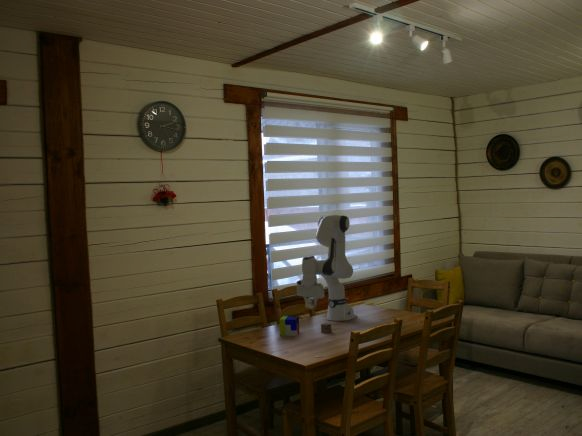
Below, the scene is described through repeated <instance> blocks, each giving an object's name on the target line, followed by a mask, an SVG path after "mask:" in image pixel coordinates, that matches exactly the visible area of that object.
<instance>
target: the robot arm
mask: <svg viewBox="0 0 582 436" xmlns="http://www.w3.org/2000/svg"><path fill="white" fill-rule="evenodd" d="M349 228H350V219H349V217H348V216H347V215H344V214H343V215H338V214H333V215H329V214H328V215H321V216H320V217H319V218H318V220H317V230H316V234H315V239H316V241H317V242H318V244H320V245H322V246H324V247H326V248H328V249H327V251H328V252H327V258H324V259H321V258H320V259H318V258H316V257H315V255H312V254H310V255H309V254H308V255H305V256H303V257H302V260H301V261H302V262H301V272H302V279H299V280H297V281H296V294H297V296H299V297H303V299H304V301H305V299H307V298H314V302H313V305H317V304H318V303H317V302H318V300H319V299H321V300H322V299H324V298H325V290H324V285H323V284H322V283H321V282H318V277H317V276H322V278H323V279H324V280H325V282H326V284H327V289H328V298H327V302H328V306H327V313H326V314H327V315H326V319H327V320H328V321H332V322H333V321H336V322H337V321H339V322H340V321H351V320H352V319H355V318H357V317H358V315H357V314H356V313H354V308H353V307H352V305H351V306H350V305H349V304H348V303H347V302H349V301H350V298H348V297H346V293H345V292H346V291H345V286H344V285H343V284H342V283H341V282H340V280H339V279H342V280H343V279H344V280H345V279H350V278H351V277H352V276H353V274H354V268H353V265H352V264H351V263H350V262H349V261H348V258H347V256H346V232H347V231H348V230H349ZM317 306H318V305H317Z"/></svg>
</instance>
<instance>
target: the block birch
mask: <svg viewBox="0 0 582 436" xmlns="http://www.w3.org/2000/svg"><path fill="white" fill-rule="evenodd" d="M313 302H314V298H311V297H307V299H305V300H304V307H305V309H315V308H317V307H318V305H313Z"/></svg>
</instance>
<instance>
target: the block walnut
mask: <svg viewBox="0 0 582 436" xmlns="http://www.w3.org/2000/svg"><path fill="white" fill-rule="evenodd" d="M320 330H321V333H323V332H324V333H323V334H328V333H331V332H332V331H333V330H332V323H329V322H324V323H321V324H320Z"/></svg>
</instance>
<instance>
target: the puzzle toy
mask: <svg viewBox="0 0 582 436" xmlns="http://www.w3.org/2000/svg"><path fill="white" fill-rule="evenodd" d="M299 333H300V316H299V315H283V316H282V317H280V318H279V336H281V337H283V336H284V337H286V336H287V337H288V336H289V337H297V336H298V334H299Z"/></svg>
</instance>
